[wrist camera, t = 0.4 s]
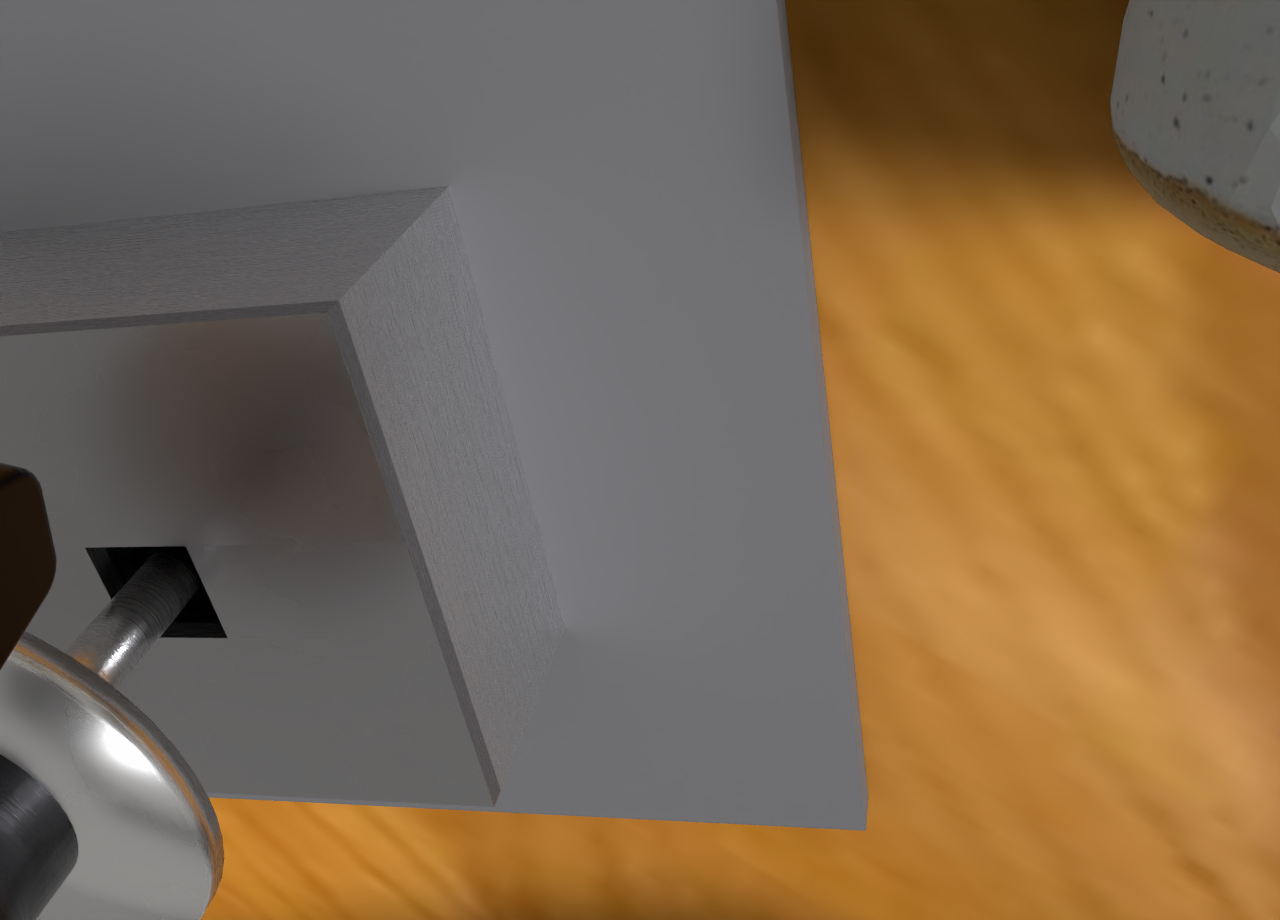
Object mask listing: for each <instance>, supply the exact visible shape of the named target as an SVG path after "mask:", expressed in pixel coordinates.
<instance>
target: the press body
mask: <svg viewBox="0 0 1280 920" xmlns="http://www.w3.org/2000/svg"><path fill="white" fill-rule="evenodd" d="M0 463H4V464H8V465H13V466H17V467H21V468H24V469H27V470H28V471H30V472H32V473H33V474H34V475H35V477H36V478H37V479H38V481H39V482H40V485H41V488H42V492H43V497H44V501H45V506H46V510H47V515H48V520H49V524H50V529H51V533H52V538H53V543H54V547H55V552H56V559H57V563H56V573H55V578H54V581H53V584H52V586H51V589H50V591H49V593H48V595H47V596H46V598H45V599H44V601H43V603H42V604H41V606H40V608H39V609H38V611H37V612H36V614H35V616H34V617H33V619H32V620H31V622H30V624H29V625H28V627H27V628H26V630H25V632H27V633H30V634H32V635H34V636H36V637H37V638H39V639H41V640H43V641H45V642H46V643H48V644H50V645H52V646H53V647H55V648H57V649H59V650H61V651H62V652H65V651H66V650H67V649H68V647H69V646H70V645H71V644H72V643H73V642H74V641H75V640H76V639H77V637H78V636H79V635H80V634H81V633H82V632H83V631H84V630H85V629H86V627H87V626H88V625H89V624H90V623H91V622H92V621H93V620H94V619H95V617H96V616H97V615H98V614H99V613H100V612H101V611H102V610H103V608H104V607H105V606H106V605H107V604H108V603H109V602H110V601H111V600H112V598H113V597H114V596H115V595H116V594H117V593H118V592H119V591H120V590H121V588H122V587H123V586H124V585H125V584H126V583H127V582H128V581H129V580H130V578H131V577H132V576H133V575H134V574H135V573H136V572H137V571H138V569H139V568H140V567H141V566H142V565H143V564H144V563H145V562H146V561H147V559H148V558H149V557H150V556H152V555H154V554H156V553H158V552H157V550H156V548H155V547H160V546H186V548H187V550H188V552H189V554H190V556H191V559H192V561H193V563H194V565H195V567H196V570H197V572H198V574H199V576H200V578H201V581H202V583H203V585H204V587H205V589H206V592H207V594H208V596H209V598H210V600H211V603H212V605H213V606H185V607H184V608H183V609H182V610H181V612H180V613H179V614H178V615H177V617H176V618H175V619H174V620H173V621H172V623H171V624H170V625H169V626H168V628H167V629H166V630H165V631H164V633H163V634H162V635H161V636H160V637H159V639H158V640H157V641H156V642H155V644H154V645H153V646H152V647H151V649H150V650H149V651H148V652H147V653H146V655H145V656H144V657H143V658H142V660H141V661H140V662H139V663H138V665H137V666H136V667H135V668H134V669H133V671H132V672H131V673H130V674H129V676H128V677H127V678H126V679H125V681H124V682H123V683H122V684H121V685H120V687H119V688H118V689H117V690H118V691H119V692H120V693H122V694H123V695H124V696H126V697H127V698H128V699H129V700H130V701H131V702H132V703H133V704H134V705H135V706H137V707H138V708H139V709H140V710H141V711H142V712H143V713H144V714H145V715H146V716H147V717H148V718H150V719H151V720H152V721H153V722H154V724H155V725H156V726H157V727H158V728H159V729H160V730H161V731H162V732H163V733H164V735H165V736H166V737H167V738H168V739H169V740H170V741H171V742H172V743H173V744H174V746H175V747H176V748H177V750H178V751H179V752H180V754H181V755H182V756H183V758H184V759H185V760H186V762H187V763H188V764H189V766H190V767H191V768H192V770H193V771H194V773H195V775H196V776H197V778H198V780H199V781H200V783H201V785H202V787H203V788H204V790H205V792H206V793H220V794H240V795H260V796H281V797H301V798H321V799H341V800H361V801H381V802H402V803H422V804H442V805H462V806H482V807H495V804H496V802H497V799H498V796H499V794H500V791H501V789H502V786H503V784H504V781H505V779H506V776H507V774H508V771H509V769H510V766H511V764H512V761H513V759H514V756H515V754H516V751H517V749H518V746H519V744H520V741H521V739H522V736H523V734H524V731H525V729H526V726H527V723H528V721H529V718H530V716H531V713H532V711H533V708H534V706H535V703H536V701H537V698H538V696H539V693H540V691H541V688H542V686H543V683H544V681H545V678H546V676H547V673H548V671H549V668H550V666H551V663H552V661H553V658H554V655H555V653H556V650H557V648H558V645H559V643H560V640H561V638H562V635H563V633H564V630H565V625H564V621H563V617H562V613H561V609H560V606H559V602H558V598H557V594H556V590H555V587H554V583H553V579H552V575H551V572H550V568H549V564H548V560H547V556H546V553H545V549H544V545H543V541H542V538H541V534H540V530H539V526H538V522H537V519H536V515H535V511H534V507H533V503H532V500H531V496H530V492H529V488H528V485H527V481H526V477H525V473H524V469H523V466H522V462H521V458H520V454H519V450H518V447H517V443H516V439H515V435H514V432H513V428H512V424H511V420H510V416H509V413H508V409H507V405H506V401H505V398H504V394H503V390H502V386H501V382H500V379H499V375H498V371H497V367H496V363H495V360H494V356H493V352H492V348H491V345H490V341H489V337H488V333H487V329H486V326H485V322H484V318H483V314H482V310H481V307H480V303H479V299H478V295H477V292H476V288H475V284H474V280H473V276H472V273H471V269H470V265H469V261H468V258H467V254H466V250H465V246H464V242H463V239H462V235H461V231H460V227H459V223H458V220H457V216H456V212H455V208H454V205H453V201H452V197H451V193H450V189H449V186H447V187H437V188H427V189H417V190H408V191H398V192H388V193H378V194H368V195H358V196H349V197H339V198H329V199H319V200H309V201H299V202H290V203H280V204H270V205H260V206H250V207H241V208H231V209H221V210H211V211H201V212H191V213H182V214H172V215H162V216H152V217H142V218H132V219H123V220H113V221H103V222H93V223H83V224H73V225H64V226H54V227H44V228H34V229H24V230H15V231H5V232H0Z"/></svg>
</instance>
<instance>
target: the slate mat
mask: <svg viewBox="0 0 1280 920" xmlns="http://www.w3.org/2000/svg"><path fill="white" fill-rule="evenodd" d="M447 186H449V189H450V193H451V197H452V201H453V205H454V208H455V212H456V216H457V220H458V223H459V227H460V231H461V235H462V239H463V242H464V246H465V250H466V254H467V258H468V261H469V265H470V269H471V273H472V276H473V280H474V284H475V288H476V292H477V295H478V299H479V303H480V307H481V310H482V314H483V318H484V322H485V326H486V329H487V333H488V337H489V341H490V345H491V348H492V352H493V356H494V360H495V363H496V367H497V371H498V375H499V379H500V382H501V386H502V390H503V394H504V398H505V401H506V405H507V409H508V413H509V416H510V420H511V424H512V428H513V432H514V435H515V439H516V443H517V447H518V450H519V454H520V458H521V462H522V466H523V469H524V473H525V477H526V481H527V485H528V488H529V492H530V496H531V500H532V503H533V507H534V511H535V515H536V519H537V522H538V526H539V530H540V534H541V538H542V541H543V545H544V549H545V553H546V556H547V560H548V564H549V568H550V572H551V575H552V579H553V583H554V587H555V590H556V594H557V598H558V602H559V606H560V609H561V613H562V617H563V621H564V625H565V630H564V633H563V635H562V638H561V640H560V643H559V645H558V648H557V650H556V653H555V655H554V658H553V661H552V663H551V666H550V668H549V671H548V673H547V676H546V678H545V681H544V683H543V686H542V688H541V691H540V693H539V696H538V698H537V701H536V703H535V706H534V708H533V711H532V713H531V716H530V718H529V721H528V723H527V726H526V729H525V731H524V734H523V736H522V739H521V741H520V744H519V746H518V749H517V751H516V754H515V756H514V759H513V761H512V764H511V766H510V769H509V771H508V774H507V776H506V779H505V781H504V784H503V786H502V789H501V791H500V794H499V796H498V799H497V802H496V804H495V807H482V806H462V805H442V804H422V803H402V802H381V801H361V800H341V799H321V798H301V797H281V796H260V795H240V794H220V793H207V796H208V797H214V798H234V799H254V800H274V801H293V802H313V803H333V804H352V805H372V806H392V807H412V808H431V809H451V810H471V811H490V812H510V813H530V814H550V815H569V816H589V817H609V818H628V819H648V820H668V821H688V822H707V823H727V824H747V825H767V826H786V827H806V828H826V829H845V830H865V831H866V823H867V808H868V790H867V780H866V770H865V761H864V751H863V742H862V732H861V723H860V713H859V703H858V694H857V684H856V675H855V665H854V656H853V646H852V636H851V627H850V617H849V608H848V598H847V589H846V579H845V569H844V560H843V550H842V541H841V531H840V522H839V512H838V502H837V493H836V483H835V474H834V464H833V455H832V445H831V435H830V426H829V416H828V407H827V397H826V388H825V378H824V368H823V359H822V349H821V340H820V330H819V321H818V311H817V301H816V292H815V282H814V273H813V263H812V254H811V244H810V234H809V225H808V215H807V206H806V196H805V186H804V177H803V167H802V158H801V148H800V139H799V129H798V119H797V110H796V100H795V91H794V81H793V72H792V62H791V52H790V43H789V33H788V24H787V14H786V5H785V0H0V232H5V231H15V230H24V229H34V228H44V227H54V226H64V225H73V224H83V223H93V222H103V221H113V220H123V219H132V218H142V217H152V216H162V215H172V214H182V213H191V212H201V211H211V210H221V209H231V208H241V207H250V206H260V205H270V204H280V203H290V202H299V201H309V200H319V199H329V198H339V197H349V196H358V195H368V194H378V193H388V192H398V191H408V190H417V189H427V188H437V187H447ZM155 548H156V550H157V552H158V553H169V554H172V555H175V556H177V557H179V558H181V559H183V560H184V561H186V562H187V563H188V564H189V565H190V566H191V567H192V568H193V570H194V571H195V572H196V574H197V577H198V580H199V588H198V590H197V592H196V593H195V594H194V596H193V597H192V598H191V599H190V601H189V602H188V603H187V604H186V606H213V605H212V603H211V600H210V598H209V596H208V594H207V592H206V589H205V587H204V585H203V583H202V581H201V578H200V576H199V574H198V572H197V570H196V567H195V565H194V563H193V561H192V559H191V556H190V554H189V552H188V550H187V548H186V546H160V547H155Z"/></svg>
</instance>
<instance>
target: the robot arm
mask: <svg viewBox="0 0 1280 920" xmlns="http://www.w3.org/2000/svg"><path fill="white" fill-rule="evenodd" d="M56 563H57V559H56V552H55V547H54V543H53V538H52V533H51V529H50V524H49V520H48V515H47V510H46V506H45V501H44V497H43V492H42V488H41V485H40V482H39V481H38V479H37V478H36V477H35V475H34V474H33V473H32V472H30V471H28V470H27V469H24V468H21V467H17V466H13V465H8V464H4V463H0V670H1V669H2V667H3V665H4V664H5V662H6V661H7V659H8V657H9V656H10V654H11V653H12V651H13V649H14V648H15V646H16V645H17V643H18V641H19V640H20V638H21V636H22V635H23V633H24V632H25V630H26V628H27V627H28V625H29V624H30V622H31V620H32V619H33V617H34V616H35V614H36V612H37V611H38V609H39V608H40V606H41V604H42V603H43V601H44V599H45V598H46V596H47V595H48V593H49V591H50V589H51V586H52V584H53V581H54V578H55V573H56Z"/></svg>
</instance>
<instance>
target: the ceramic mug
mask: <svg viewBox="0 0 1280 920" xmlns="http://www.w3.org/2000/svg"><path fill="white" fill-rule="evenodd" d="M1110 106H1111V128H1112V133H1113V138H1114V140H1115V142H1116V144H1117V147H1118V149H1119V151H1120V153H1121V155H1122V157H1123V159H1124V161H1125V163H1126V165H1127V167H1128V169H1129V171H1130V172H1131V173H1132V174H1133V175H1134V177H1135V178H1136V179H1137V180H1138V181H1139V182H1140V183H1141V185H1142V186H1143V187H1144V188H1145V189H1146V190H1147V192H1148V193H1149V194H1150V195H1151V196H1152V197H1153V199H1154V200H1155V201H1156V202H1157V203H1158V204H1159V205H1161V206H1162V207H1163V208H1165V209H1166V210H1168V211H1169V212H1170V213H1172V214H1173V215H1174V216H1176V217H1177V218H1179V219H1180V220H1181V221H1183V222H1184V223H1185V224H1187V225H1188V226H1189V227H1191V228H1192V229H1194V230H1195V231H1196V232H1198V233H1199V234H1201V235H1203V236H1204V237H1206V238H1208V239H1210V240H1212V241H1213V242H1215V243H1217V244H1219V245H1221V246H1223V247H1224V248H1226V249H1228V250H1230V251H1232V252H1235V253H1237V254H1239V255H1241V256H1243V257H1246V258H1248V259H1250V260H1252V261H1254V262H1257V263H1259V264H1261V265H1263V266H1266V267H1268V268H1270V269H1272V270H1274V271H1277V272H1279V273H1280V0H1130V1H1129V4H1128V7H1127V10H1126V13H1125V16H1124V20H1123V25H1122V32H1121V38H1120V44H1119V50H1118V56H1117V62H1116V69H1115V75H1114V81H1113V87H1112V93H1111V97H1110Z"/></svg>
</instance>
